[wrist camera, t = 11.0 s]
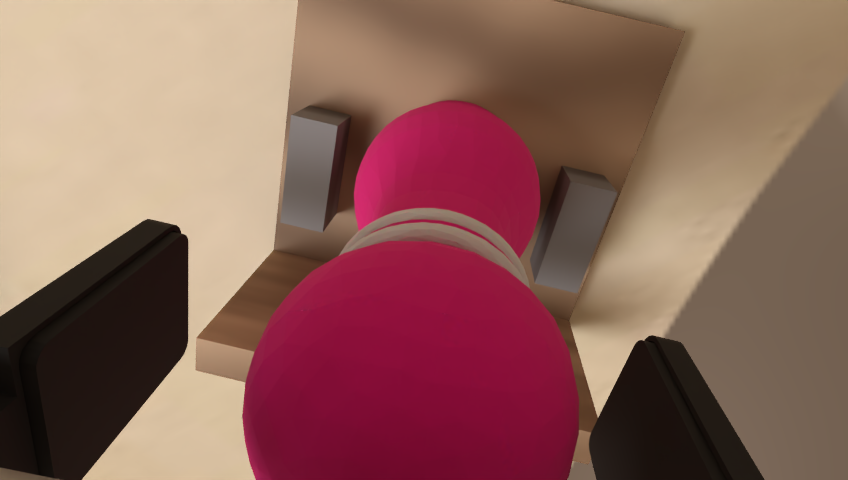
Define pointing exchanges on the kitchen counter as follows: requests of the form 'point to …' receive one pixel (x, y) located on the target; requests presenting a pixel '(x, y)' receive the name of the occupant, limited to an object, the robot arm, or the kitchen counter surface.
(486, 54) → the pegged stand
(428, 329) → the pepper mill
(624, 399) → the robot arm
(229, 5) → the kitchen counter surface
